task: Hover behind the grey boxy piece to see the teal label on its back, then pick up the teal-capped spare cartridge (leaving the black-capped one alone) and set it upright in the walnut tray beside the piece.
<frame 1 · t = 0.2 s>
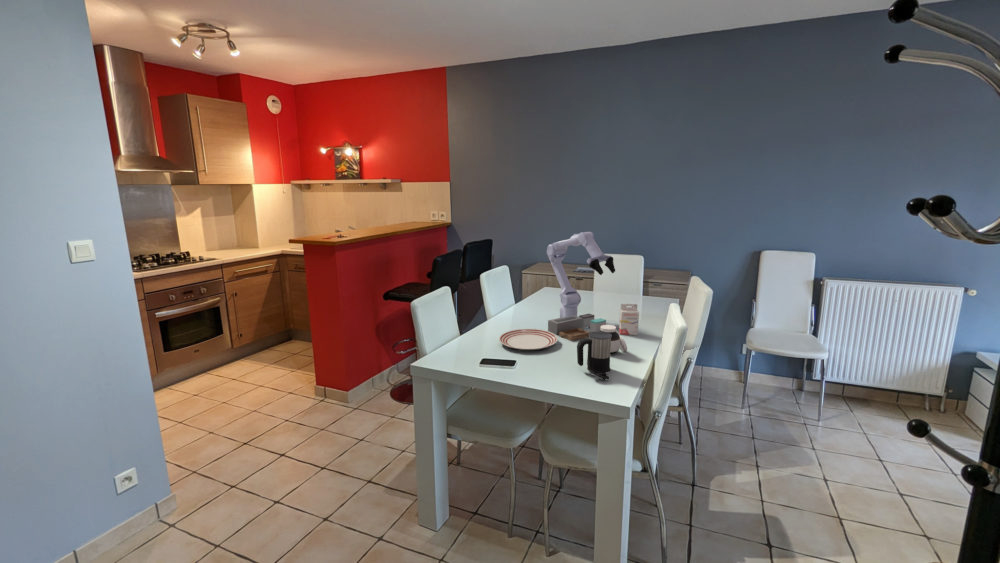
hand: (608, 272, 227), 31 cm above the table, tool tilted 45°, fingers open, 7 cm apart
spread jar: (611, 352, 210), on the table
teal cartridge: (597, 331, 239), on the table
milk frother: (599, 374, 186), on the table
grey boxy piece: (565, 330, 241), on the table
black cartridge: (586, 326, 248), on the table
ink cartridge box: (628, 333, 235), on the table
walnut tray: (574, 336, 232), on the table
dinner plate: (528, 344, 222), on the table
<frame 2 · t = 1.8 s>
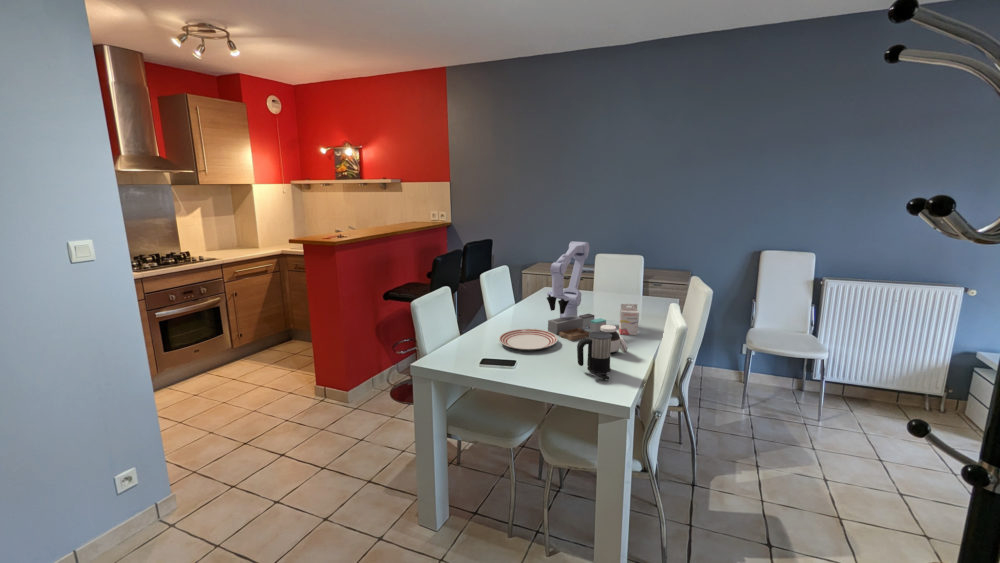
hand: (557, 311, 242), 9 cm above the table, tool pointing down, fingers open, 7 cm apart
nothing on the table moved.
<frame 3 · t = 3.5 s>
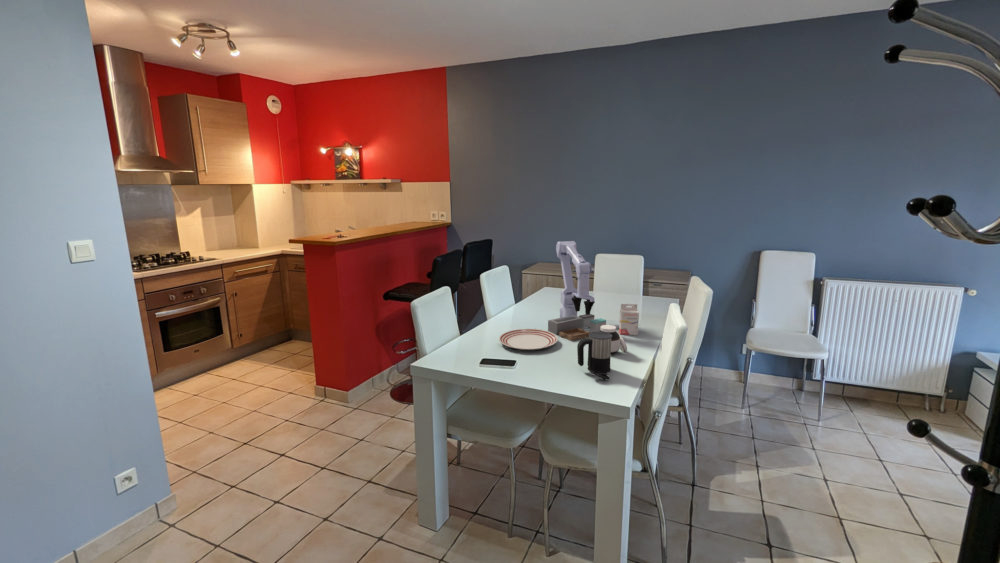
hand: (582, 312, 239), 9 cm above the table, tool pointing down, fingers open, 7 cm apart
nothing on the table moved.
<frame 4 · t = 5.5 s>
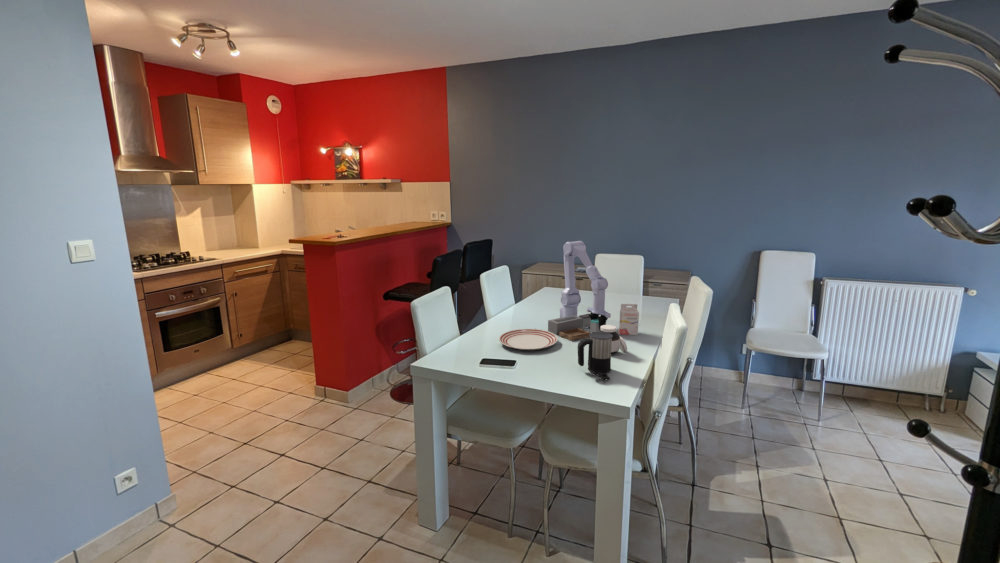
hand: (598, 328, 239), 2 cm above the table, tool pointing down, fingers closed on teal cartridge, 4 cm apart
teal cartridge: (598, 331, 239), on the table, touching gripper
everything else where it was.
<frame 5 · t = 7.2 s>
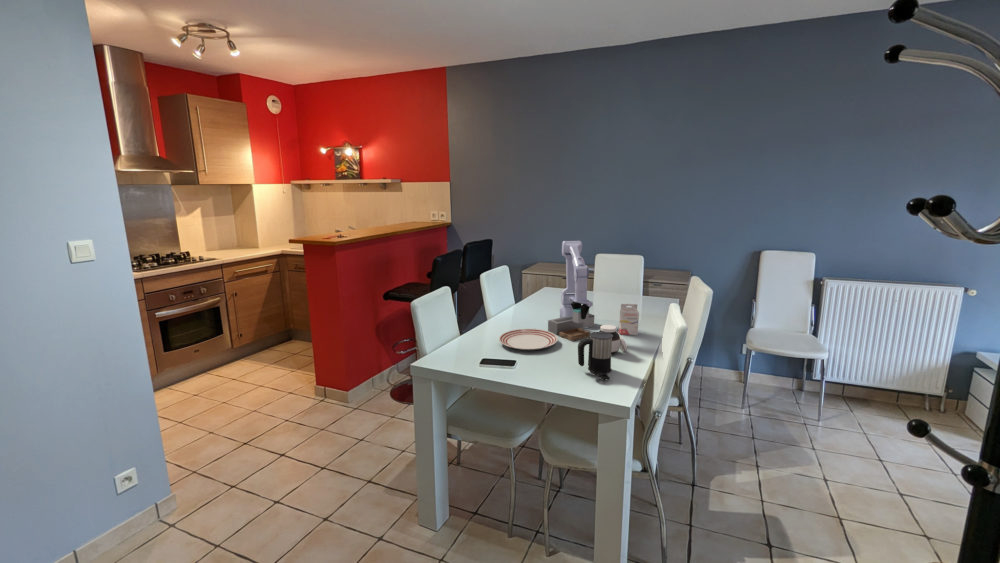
hand: (580, 317, 231), 9 cm above the table, tool pointing down, fingers closed on teal cartridge, 4 cm apart
teal cartridge: (580, 321, 232), point 7 cm above the table, touching gripper
everything else where it was.
when the fingers open (4 cm above the table, at t = 8.9 s): teal cartridge drops 1 cm, resting on walnut tray.
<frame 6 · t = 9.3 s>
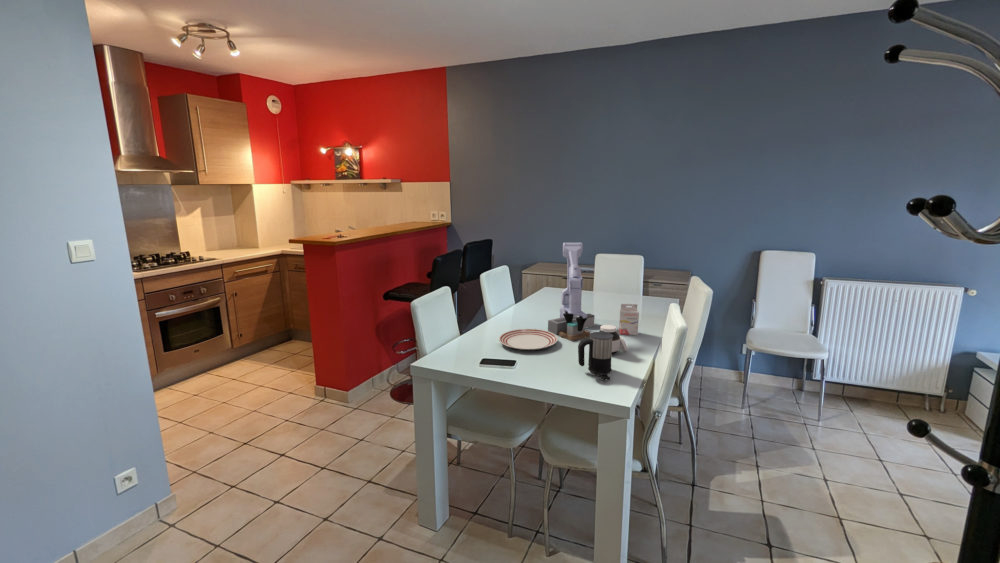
hand: (574, 329, 231), 4 cm above the table, tool pointing down, fingers open, 7 cm apart
teal cartridge: (575, 335, 232), point 1 cm above the table, touching walnut tray
everything else where it was.
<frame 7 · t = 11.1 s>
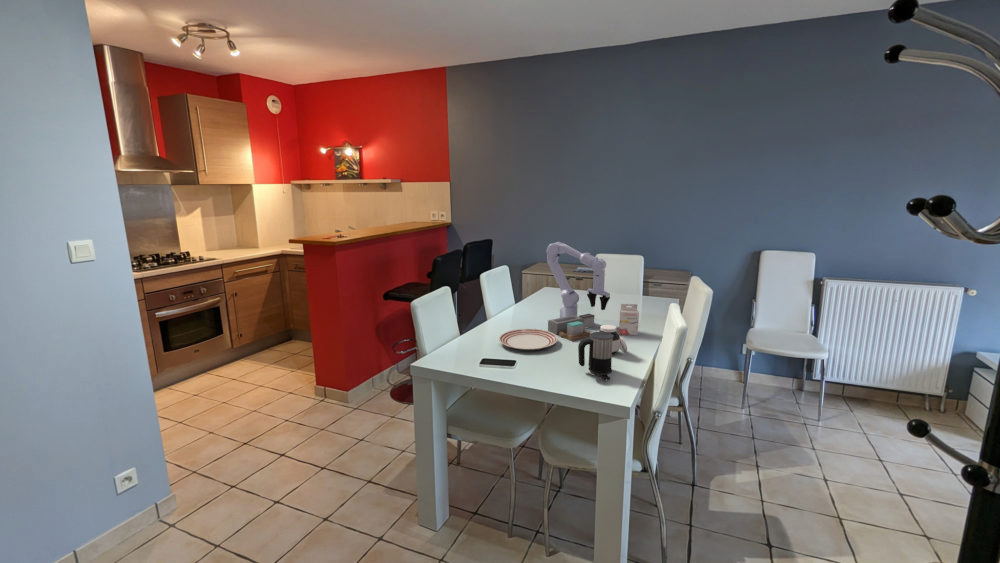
hand: (597, 308, 247), 9 cm above the table, tool pointing down, fingers open, 7 cm apart
nothing on the table moved.
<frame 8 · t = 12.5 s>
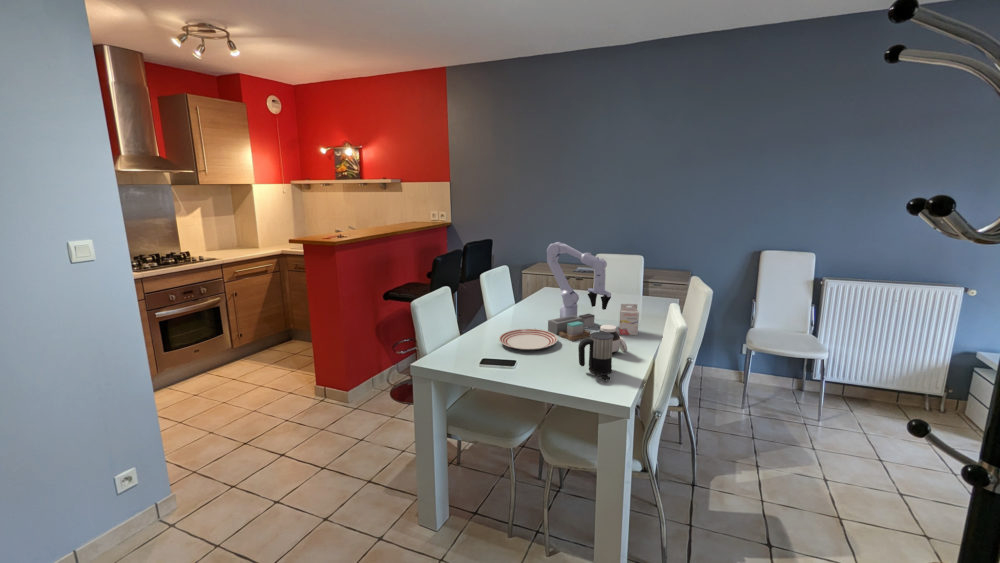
hand: (598, 307, 248), 9 cm above the table, tool pointing down, fingers open, 7 cm apart
nothing on the table moved.
at the end: teal cartridge inside the target area on the walnut tray (0.3 cm from its centre), point 0.6 cm above the walnut tray's base; teal cartridge tilted 0°; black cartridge moved 0.1 cm from its start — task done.
